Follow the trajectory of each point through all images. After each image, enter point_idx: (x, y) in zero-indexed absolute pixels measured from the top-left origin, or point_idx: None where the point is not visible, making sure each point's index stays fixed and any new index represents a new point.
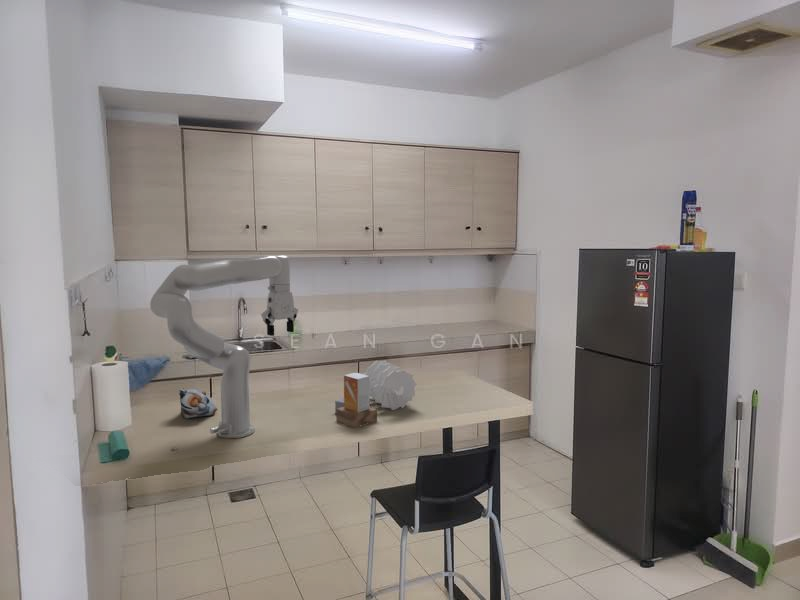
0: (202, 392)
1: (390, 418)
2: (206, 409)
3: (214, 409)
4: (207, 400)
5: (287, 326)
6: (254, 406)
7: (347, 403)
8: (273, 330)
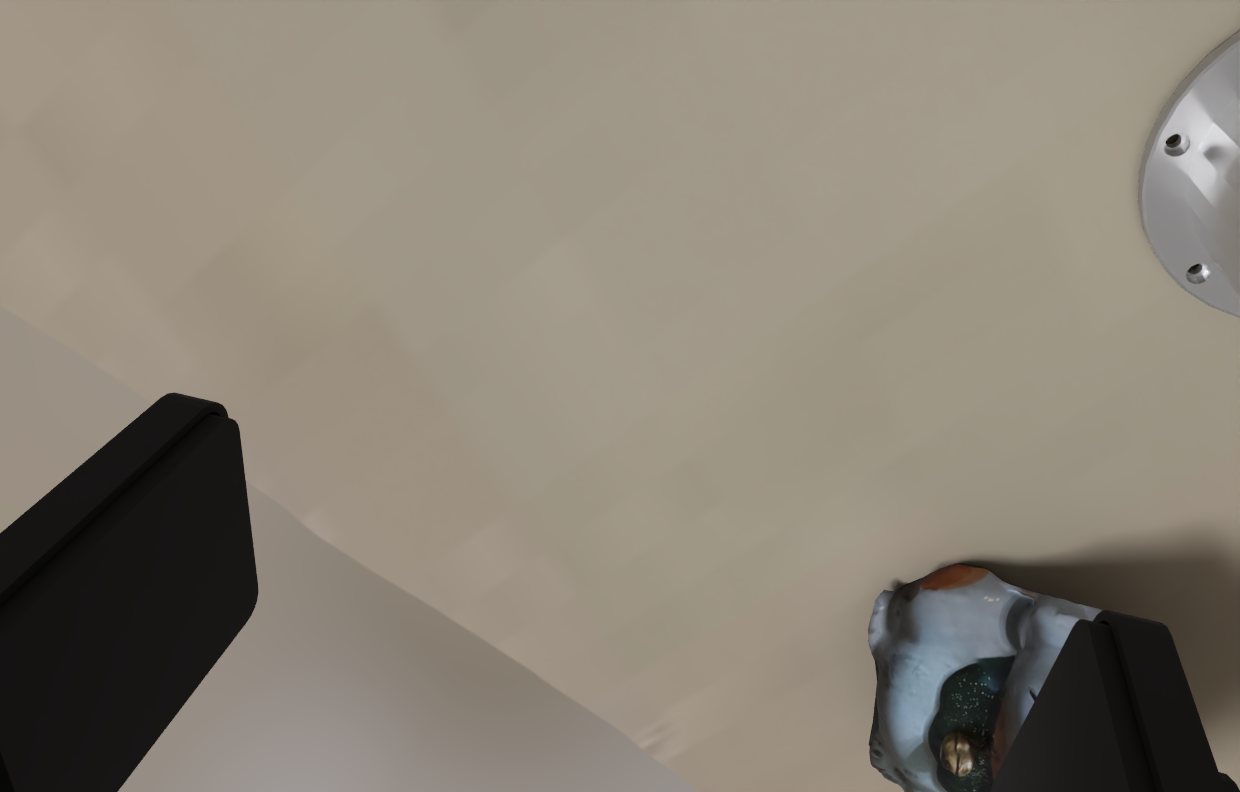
0: (972, 768)
1: None
2: (1086, 606)
3: (956, 589)
4: (975, 682)
5: (160, 700)
6: (645, 431)
7: None
8: (1187, 772)
